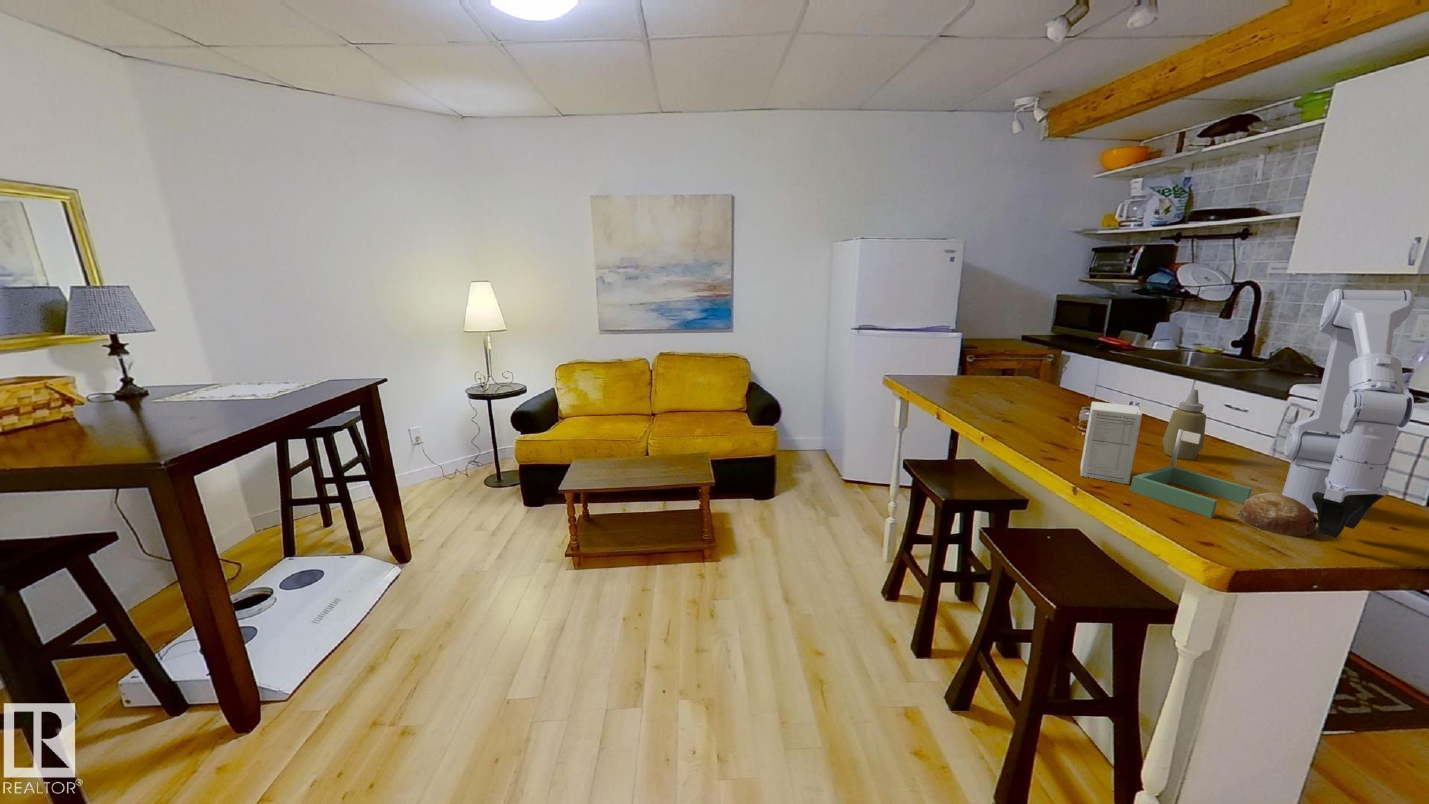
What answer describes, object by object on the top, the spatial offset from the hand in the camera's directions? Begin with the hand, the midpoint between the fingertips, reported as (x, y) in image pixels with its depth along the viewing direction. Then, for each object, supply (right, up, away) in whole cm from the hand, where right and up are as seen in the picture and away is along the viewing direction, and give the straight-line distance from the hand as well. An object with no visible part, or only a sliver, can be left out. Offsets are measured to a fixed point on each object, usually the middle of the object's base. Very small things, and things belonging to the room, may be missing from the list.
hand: (1336, 530), depth 92 cm
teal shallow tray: (-9, +2, +19) cm, 21 cm away
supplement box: (-18, +5, +32) cm, 37 cm away
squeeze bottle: (+12, +9, +44) cm, 46 cm away
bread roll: (-3, -1, +7) cm, 8 cm away
